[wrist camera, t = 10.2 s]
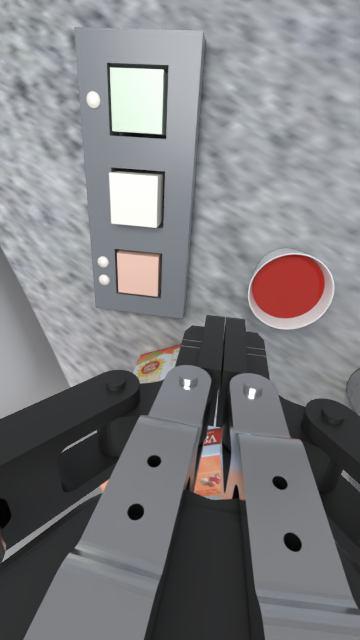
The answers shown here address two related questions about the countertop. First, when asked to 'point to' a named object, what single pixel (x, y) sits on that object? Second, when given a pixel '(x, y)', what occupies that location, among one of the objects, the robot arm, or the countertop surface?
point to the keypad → (141, 158)
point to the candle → (290, 289)
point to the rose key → (139, 272)
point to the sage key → (139, 100)
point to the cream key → (136, 198)
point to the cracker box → (209, 471)
